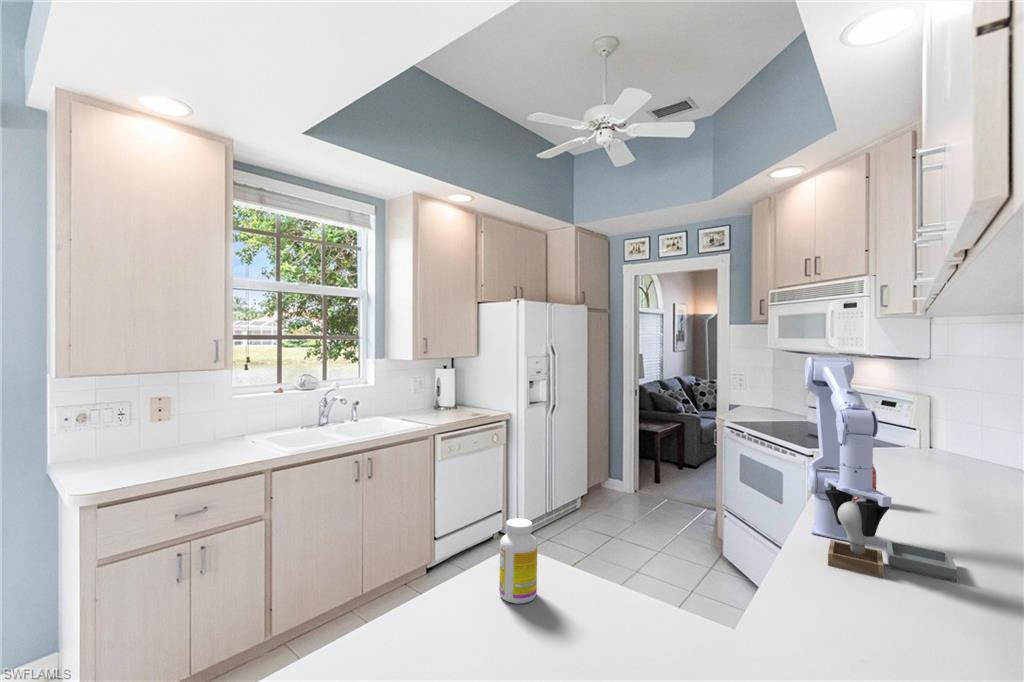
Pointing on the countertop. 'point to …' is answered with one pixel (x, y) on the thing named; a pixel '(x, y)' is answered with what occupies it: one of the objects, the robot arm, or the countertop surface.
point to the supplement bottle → (518, 562)
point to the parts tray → (921, 561)
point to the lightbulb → (852, 526)
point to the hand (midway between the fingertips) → (855, 530)
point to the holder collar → (855, 559)
